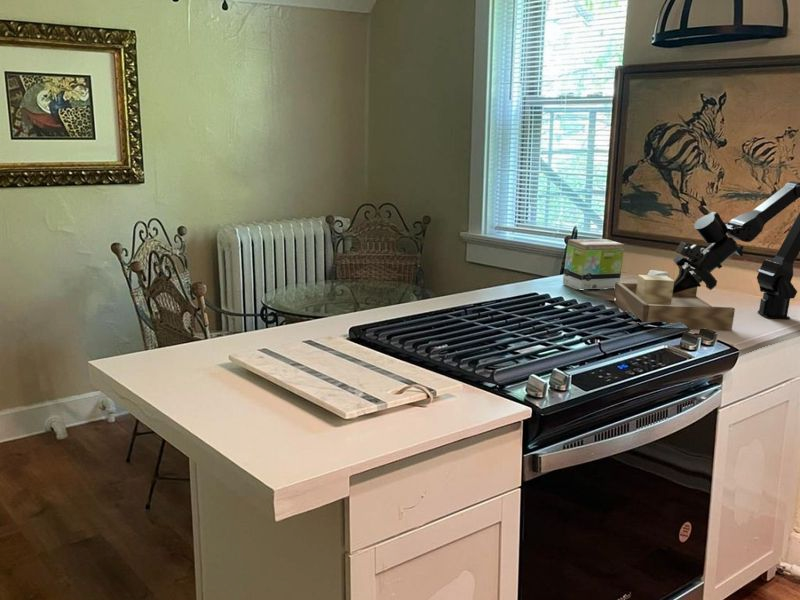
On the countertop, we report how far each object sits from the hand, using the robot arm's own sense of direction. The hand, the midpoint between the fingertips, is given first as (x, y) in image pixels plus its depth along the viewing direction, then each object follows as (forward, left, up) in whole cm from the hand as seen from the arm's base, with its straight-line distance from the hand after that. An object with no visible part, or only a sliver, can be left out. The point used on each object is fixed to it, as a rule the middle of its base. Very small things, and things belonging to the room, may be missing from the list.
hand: (669, 292), depth 215 cm
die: (-4, -21, -7) cm, 22 cm away
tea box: (+13, -32, -7) cm, 35 cm away
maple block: (+4, 0, -4) cm, 6 cm away
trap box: (0, 0, -7) cm, 7 cm away
